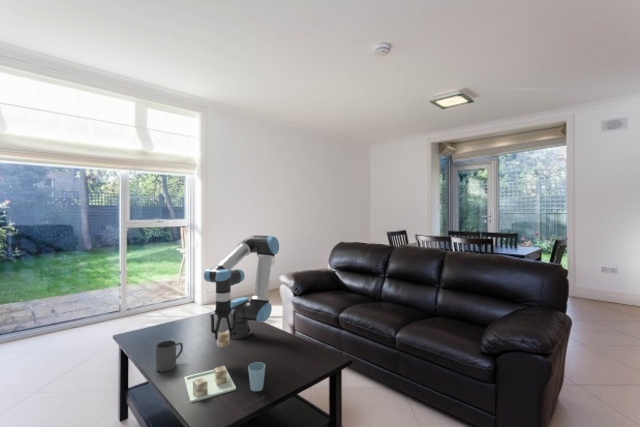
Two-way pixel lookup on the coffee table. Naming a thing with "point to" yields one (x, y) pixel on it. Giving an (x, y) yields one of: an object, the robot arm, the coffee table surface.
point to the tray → (212, 386)
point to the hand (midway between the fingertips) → (223, 344)
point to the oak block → (223, 339)
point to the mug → (167, 355)
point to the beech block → (220, 375)
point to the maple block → (200, 387)
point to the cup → (256, 376)
